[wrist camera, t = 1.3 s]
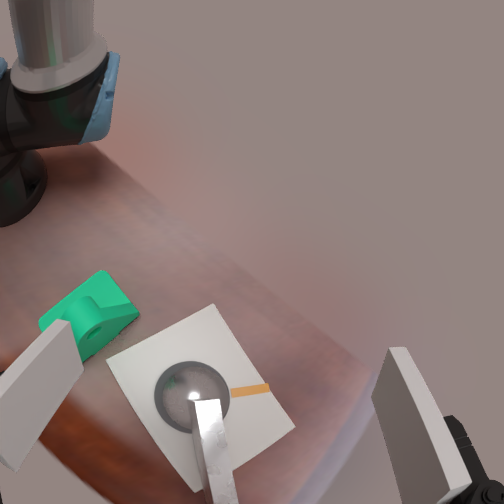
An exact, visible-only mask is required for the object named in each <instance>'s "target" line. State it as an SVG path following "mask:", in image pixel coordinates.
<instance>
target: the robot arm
mask: <svg viewBox="0 0 504 504" xmlns="http://www.w3.org/2000/svg"><path fill="white" fill-rule="evenodd" d="M8 3H9V10H10V16H11V22H12V28H13V33H14V38H15V43H16V47H17V52H18V58H17V59H16V61H15V62H14V64H13V66H12V68H11V69H7V67H8V65H7V62H6V61H5V60H4V58H1V57H0V227H4V226H8V225H10V224H13V223H15V222H17V221H19V220H20V219H22V218H23V217H24V216H26V215H27V214H28V213H29V212H30V211H31V210H32V209H33V208H34V207H35V206H36V204H37V203H38V202H39V200H40V198H41V197H42V195H43V193H44V190H45V187H46V183H47V171H46V168H45V165H44V162H43V159H42V158H41V156H40V155H39V153H38V152H37V151H36V150H35V149H42V148H49V147H58V146H67V145H81V144H83V143H86V142H92V141H98V140H101V139H103V138H104V137H105V136H106V135H107V134H108V132H109V129H110V123H111V115H112V106H113V98H114V92H115V85H116V79H117V73H118V67H119V61H120V55H119V54H118V53H113V52H112V51H110V52H107V43H106V40H105V38H104V37H103V36H102V35H101V34H99V33H97V32H95V31H93V12H94V0H8ZM83 371H84V367H83V364H82V361H81V358H80V355H79V352H78V349H77V345H76V342H75V338H74V335H73V331H72V328H71V324H70V321H65V320H61V319H56V320H55V321H54V322H53V323H52V324H51V325H50V326H49V327H48V328H47V329H46V330H45V331H44V332H43V333H42V334H41V335H40V336H39V337H38V338H37V339H36V340H35V341H34V342H33V343H32V344H31V345H30V346H29V347H28V348H27V349H26V350H25V351H24V352H23V353H22V354H21V355H20V356H19V357H18V358H17V359H16V360H15V361H14V362H13V363H12V364H11V366H10V367H9V368H8V369H7V370H6V371H2V372H0V461H1V463H3V465H5V466H6V467H8V468H10V469H11V470H13V471H15V472H17V471H18V470H19V468H20V466H21V465H22V463H23V461H24V459H25V458H26V456H27V455H28V453H29V452H30V450H31V449H32V447H33V445H34V444H35V442H36V441H37V439H38V437H39V436H40V434H41V433H42V431H43V430H44V428H45V427H46V425H47V424H48V422H49V421H50V419H51V418H52V416H53V415H54V413H55V412H56V410H57V409H58V407H59V406H60V404H61V403H62V401H63V400H64V398H65V397H66V396H67V394H68V393H69V391H70V390H71V388H72V387H73V385H74V384H75V383H76V381H77V380H78V378H79V377H80V376H81V374H82V373H83ZM371 398H372V401H373V404H374V407H375V410H376V413H377V416H378V419H379V423H380V426H381V429H382V432H383V436H384V439H385V442H386V446H387V449H388V453H389V456H390V459H391V463H392V466H393V470H394V474H395V477H396V481H397V485H398V489H399V492H400V496H401V500H402V504H504V486H503V485H502V484H501V483H500V482H498V481H495V480H489V478H488V477H487V475H486V473H485V471H484V469H483V466H482V464H481V462H480V460H479V458H478V456H477V453H476V451H475V449H474V447H473V446H471V444H472V443H471V441H470V439H469V437H467V433H466V431H465V429H464V427H463V425H462V424H461V423H460V422H459V421H458V420H457V419H456V418H455V417H454V416H453V415H451V416H446V417H442V415H441V413H440V410H439V408H438V407H437V405H436V403H435V401H434V399H433V397H432V395H431V393H430V391H429V389H428V387H427V385H426V383H425V381H424V380H423V378H422V376H421V374H420V372H419V370H418V369H417V367H416V365H415V363H414V361H413V360H412V358H411V356H410V354H409V352H408V351H407V349H406V347H394V348H393V347H392V348H388V351H387V354H386V357H385V360H384V363H383V366H382V369H381V372H380V374H379V377H378V380H377V383H376V385H375V388H374V391H373V393H372V396H371ZM0 504H3V503H2V498H1V493H0Z"/></svg>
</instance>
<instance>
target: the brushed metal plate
mask: <svg viewBox="0 0 504 504" xmlns="http://www.w3.org/2000/svg"><path fill="white" fill-rule="evenodd" d="M163 403H164V406H165V409H166V411H167V413H168V415H169V416H170V417H171V418H172V420H174V421H175V422H176V423H177V424H179V425H180V426H183V427H185V428H188V429H192V435H193V441H194V446H195V452H196V457H197V462H198V468H199V473H200V477H201V482H202V487H203V491H204V496H205V500H206V504H239V503H238V498H237V494H236V489H235V484H234V479H233V473H232V468H231V463H230V458H229V452H228V447H227V441H226V435H225V429H224V423H223V417H224V415H225V413H226V411H227V409H228V404H229V394H228V390H227V387H226V385H225V383H224V382H223V381H222V379H221V378H220V377H219V376H218V375H217V374H215V373H214V372H212V371H211V370H209V369H206V368H202V367H187V368H183V369H181V370H179V371H177V372H176V373H174V374H173V375H172V376H171V377H170V378H169V380H168V381H167V383H166V384H165V387H164V390H163Z"/></svg>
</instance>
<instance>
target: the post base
mask: <svg viewBox="0 0 504 504" xmlns="http://www.w3.org/2000/svg"><path fill="white" fill-rule="evenodd" d="M106 362H107V363H108V365H109V367H110V369H111V371H112V373H113V375H114V376H115V378H116V380H117V382H118V384H119V385H120V387H121V389H122V391H123V392H124V394H125V396H126V397H127V399H128V401H129V402H130V404H131V406H132V407H133V409H134V410H135V412H136V414H137V415H138V417H139V418H140V420H141V421H142V423H143V425H144V426H145V428H146V429H147V431H148V432H149V434H150V435H151V436H152V438H153V439H154V441H155V442H156V444H157V445H158V446H159V448H160V449H161V451H162V452H163V453H164V455H165V456H166V458H167V459H168V460H169V462H170V463H171V464H172V466H173V467H174V468H175V469H176V471H177V472H178V473H179V475H180V476H181V477H182V478H183V480H184V481H185V482H186V483H187V485H188V486H189V487H190V488H191V489H192V491H193V492H194V493H196V492H197V491H199V490H201V489H203V487H202V482H201V477H200V473H199V468H198V462H197V457H196V452H195V446H194V441H193V435H192V429H188V428H185V427H183V426H180V425H179V424H177V423H176V422H175V421H174V420H172V418H171V417H170V416H169V415H168V413H167V411H166V409H165V406H164V403H163V390H164V387H165V384H166V383H167V381H168V380H169V378H170V377H171V376H172V375H173V374H174V373H176V372H177V371H179V370H181V369H183V368H187V367H202V368H206V369H209V370H211V371H212V372H214V373H215V374H217V375H218V376H219V377H220V378H221V379H222V381H223V382H224V383H225V385H226V387H227V390H228V394H229V404H228V409H227V411H226V413H225V415H224V417H223V423H224V429H225V435H226V441H227V447H228V452H229V458H230V463H231V468H232V471H233V470H235V469H236V468H238V467H239V466H241V465H242V464H244V463H245V462H247V461H248V460H250V459H251V458H253V457H254V456H256V455H257V454H259V453H260V452H262V451H263V450H265V449H266V448H267V447H269V446H270V445H272V444H273V443H274V442H276V441H277V440H279V439H280V438H281V437H283V436H284V435H285V434H287V433H288V432H289V431H291V430H292V429H293V428H295V425H294V424H293V422H292V421H291V420H290V418H289V417H288V415H287V414H286V413H285V411H284V410H283V408H282V407H281V405H280V404H279V403H278V401H277V400H276V398H275V397H274V395H273V394H272V393H271V391H270V390H269V384H268V383H265V382H264V381H263V379H262V378H261V376H260V375H259V373H258V372H257V370H256V369H255V367H254V366H253V364H252V363H251V361H250V360H249V358H248V357H247V355H246V354H245V352H244V351H243V349H242V348H241V346H240V345H239V343H238V342H237V340H236V338H235V337H234V335H233V334H232V332H231V331H230V329H229V327H228V326H227V324H226V323H225V321H224V320H223V318H222V316H221V315H220V313H219V312H218V310H217V308H216V307H215V305H214V304H211V305H209V306H207V307H206V308H204V309H202V310H200V311H198V312H196V313H194V314H193V315H191V316H189V317H187V318H185V319H183V320H181V321H179V322H178V323H176V324H174V325H172V326H170V327H168V328H166V329H164V330H162V331H161V332H159V333H157V334H155V335H153V336H151V337H149V338H147V339H145V340H143V341H141V342H139V343H138V344H136V345H134V346H132V347H130V348H128V349H126V350H124V351H122V352H120V353H118V354H116V355H114V356H112V357H110V358H108V359H106Z"/></svg>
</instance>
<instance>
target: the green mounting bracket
mask: <svg viewBox="0 0 504 504" xmlns="http://www.w3.org/2000/svg"><path fill="white" fill-rule="evenodd" d="M139 315H140V314H139V311H138V310H137V309H136V308H135V307H134V305H133V304H132V303H131V302H130V300H129V299H128V298H127V297H126V296H125V294H124V293H123V292H122V291H121V289H120V288H119V287H118V285H117V284H116V283H115V282H114V280H113V279H112V278H111V276H110V275H109V274H108V273H107V272H106V271H103V270H102V271H98V272H97V273H95V274H94V275H93V276H92V277H90V278H89V279H88V280H86V281H85V282H84V283H83V284H81V285H80V286H79V287H77V288H76V289H75V290H74V291H72V292H71V293H70V294H69V295H67V296H66V297H65V298H64V299H62V300H61V301H60V302H59V303H57V304H56V305H55V306H54V307H53V308H51V309H50V310H49V311H48V312H47V313H45V314H44V315H43V316H42V317H41V318H40V319H39V328H40V329H41V331H42V333H43V332H44V331H45V330H46V329H47V328H48V327H49V326H50V325H51V324H52V323H53V322H54V321H55V320H56V319H61V320H65V321H70V324H71V328H72V331H73V335H74V338H75V342H76V345H77V349H78V352H79V355H80V358H81V361H82V363H83V362H84V361H85V360H86V359H87V358H89V357H90V356H91V355H95V354H96V353H97V352H98V351H99V350H101V349H102V348H103V347H104V346H105V345H107V344H108V343H109V342H110V341H111V340H112V339H114V338H115V337H116V336H117V335H118V334H120V333H119V332H120V331H121V330H122V329H123V328H124V327H126V326H127V325H128V324H129V323H130V322H132V321H133V320H134V319H135V318H137V317H138V316H139Z"/></svg>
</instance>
